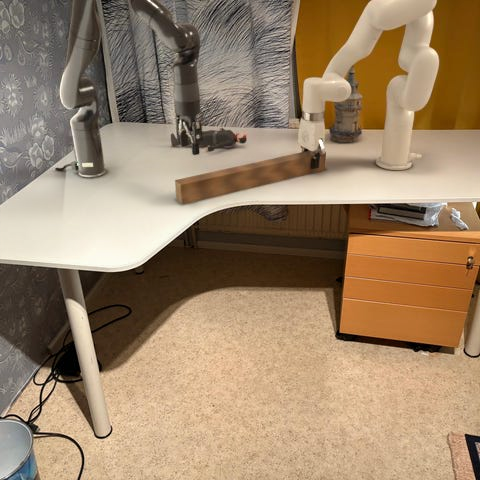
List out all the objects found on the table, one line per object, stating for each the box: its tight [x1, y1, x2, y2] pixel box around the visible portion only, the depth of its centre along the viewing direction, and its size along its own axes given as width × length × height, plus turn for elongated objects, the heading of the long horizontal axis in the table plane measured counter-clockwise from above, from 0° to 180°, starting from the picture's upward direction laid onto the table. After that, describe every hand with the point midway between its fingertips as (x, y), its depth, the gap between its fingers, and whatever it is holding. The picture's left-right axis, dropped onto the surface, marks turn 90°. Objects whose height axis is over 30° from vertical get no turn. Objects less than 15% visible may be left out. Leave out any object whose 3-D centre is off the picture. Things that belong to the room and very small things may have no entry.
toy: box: [170, 127, 248, 153], centre depth 215 cm, size 26×6×30 cm
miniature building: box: [328, 64, 363, 143], centre depth 214 cm, size 13×14×30 cm
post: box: [174, 150, 327, 205], centre depth 181 cm, size 56×5×7 cm, turn 119°
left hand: (190, 150), depth 165 cm, fingers open, 8 cm apart
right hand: (310, 165), depth 191 cm, fingers closed on post, 4 cm apart
